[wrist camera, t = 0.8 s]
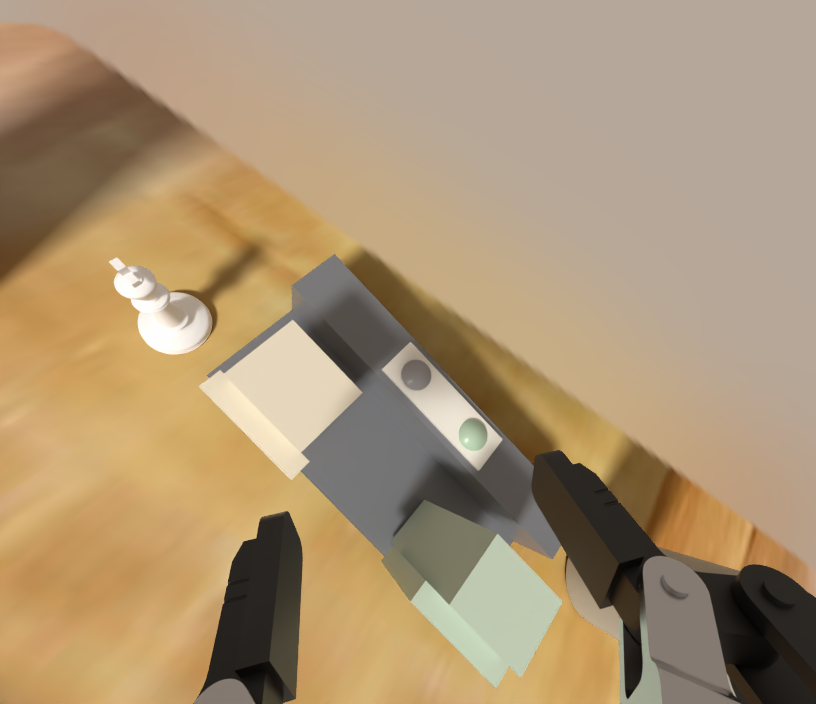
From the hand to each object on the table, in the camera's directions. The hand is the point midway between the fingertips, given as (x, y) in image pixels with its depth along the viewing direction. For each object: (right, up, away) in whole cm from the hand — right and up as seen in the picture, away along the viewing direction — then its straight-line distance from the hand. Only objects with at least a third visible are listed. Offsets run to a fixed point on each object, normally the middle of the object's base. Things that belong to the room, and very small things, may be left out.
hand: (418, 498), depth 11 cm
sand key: (-9, 0, +16) cm, 18 cm away
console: (-2, -3, +19) cm, 19 cm away
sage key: (+1, -11, +16) cm, 19 cm away
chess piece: (-19, +7, +17) cm, 26 cm away
